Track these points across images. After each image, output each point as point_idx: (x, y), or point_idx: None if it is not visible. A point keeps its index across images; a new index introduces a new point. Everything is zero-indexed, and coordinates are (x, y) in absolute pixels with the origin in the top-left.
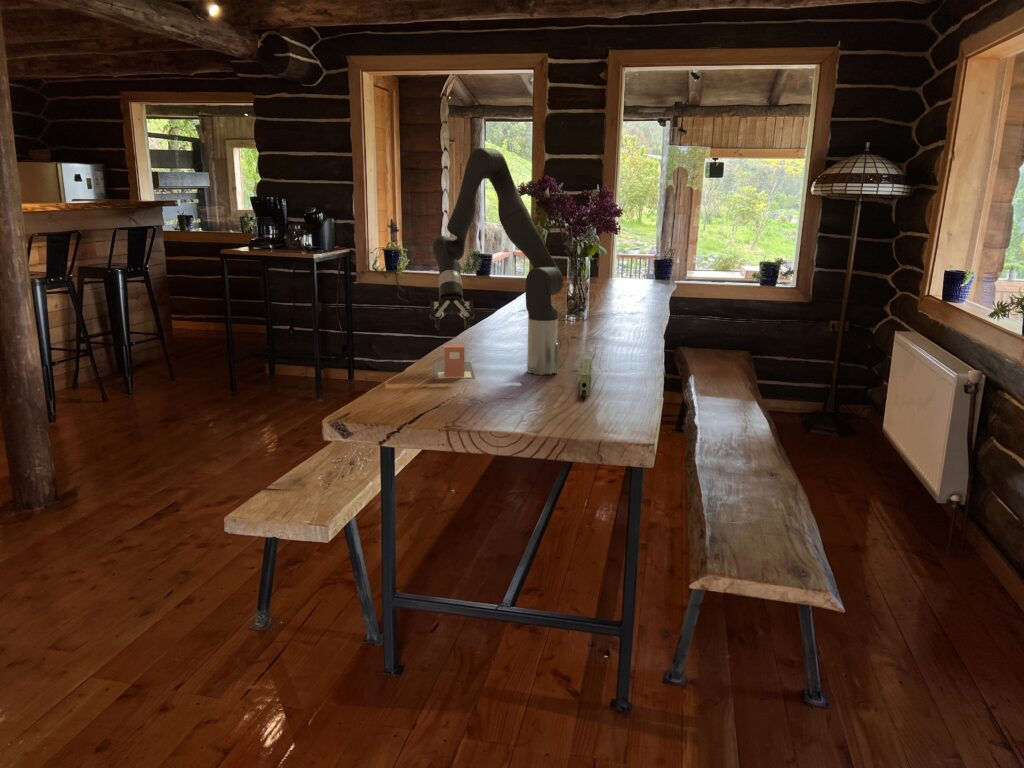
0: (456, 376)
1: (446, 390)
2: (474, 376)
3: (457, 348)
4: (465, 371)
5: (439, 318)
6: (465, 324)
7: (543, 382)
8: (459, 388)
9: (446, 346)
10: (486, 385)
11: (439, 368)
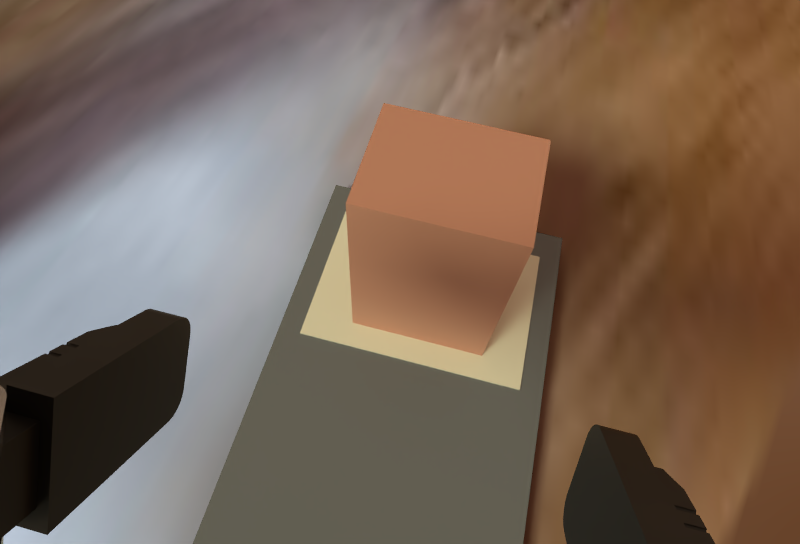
0: None
1: (523, 120)
2: (321, 226)
3: (439, 123)
4: (325, 355)
5: (654, 536)
6: (166, 326)
7: (14, 93)
8: None
9: (525, 167)
10: (310, 131)
11: (484, 509)
